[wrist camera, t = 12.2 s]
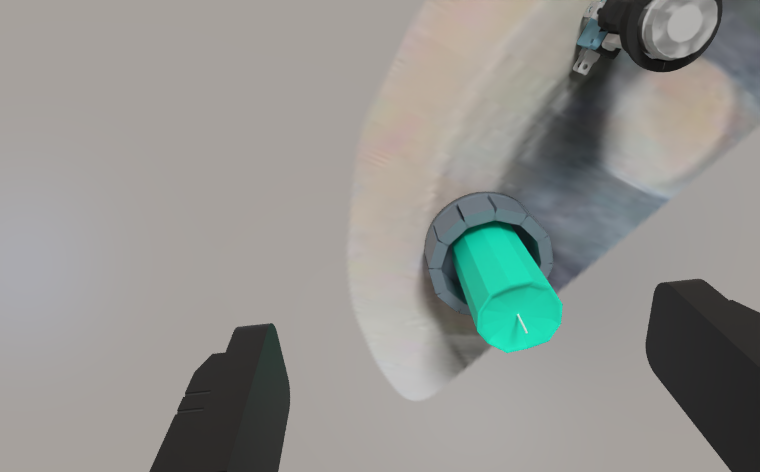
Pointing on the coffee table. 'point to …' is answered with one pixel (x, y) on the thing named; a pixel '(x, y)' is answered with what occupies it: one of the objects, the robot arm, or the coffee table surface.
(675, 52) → the push button
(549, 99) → the coffee table surface
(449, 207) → the candle dish
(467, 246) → the candle
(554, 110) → the coffee table surface
